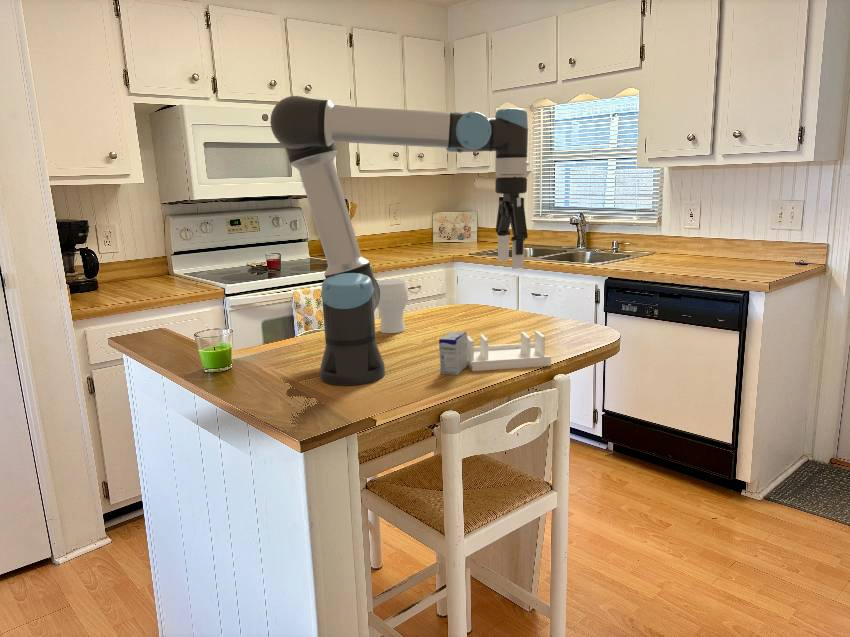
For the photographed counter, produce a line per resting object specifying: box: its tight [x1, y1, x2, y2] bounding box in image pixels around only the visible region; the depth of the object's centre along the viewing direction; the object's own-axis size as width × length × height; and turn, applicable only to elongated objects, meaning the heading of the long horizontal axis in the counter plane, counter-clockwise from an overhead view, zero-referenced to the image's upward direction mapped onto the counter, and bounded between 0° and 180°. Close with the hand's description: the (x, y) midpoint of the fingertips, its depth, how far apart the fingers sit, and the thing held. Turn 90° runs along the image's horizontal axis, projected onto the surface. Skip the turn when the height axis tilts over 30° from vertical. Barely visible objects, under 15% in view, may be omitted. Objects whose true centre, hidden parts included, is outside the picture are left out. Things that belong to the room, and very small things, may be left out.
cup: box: [376, 278, 409, 334], centre depth 191 cm, size 11×11×15 cm
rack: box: [467, 330, 552, 372], centre depth 157 cm, size 19×14×6 cm
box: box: [438, 331, 469, 376], centre depth 150 cm, size 8×4×9 cm, turn 159°
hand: (510, 264), depth 157 cm, fingers open, 13 cm apart
